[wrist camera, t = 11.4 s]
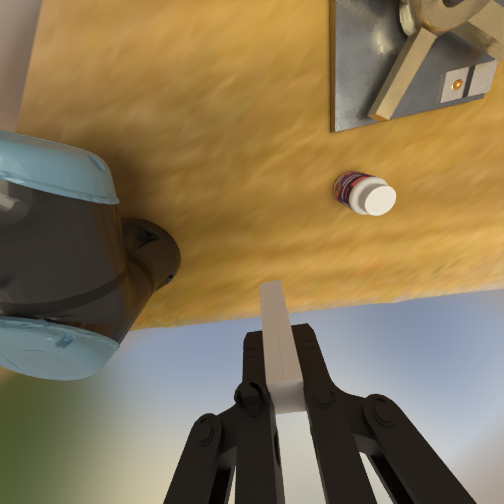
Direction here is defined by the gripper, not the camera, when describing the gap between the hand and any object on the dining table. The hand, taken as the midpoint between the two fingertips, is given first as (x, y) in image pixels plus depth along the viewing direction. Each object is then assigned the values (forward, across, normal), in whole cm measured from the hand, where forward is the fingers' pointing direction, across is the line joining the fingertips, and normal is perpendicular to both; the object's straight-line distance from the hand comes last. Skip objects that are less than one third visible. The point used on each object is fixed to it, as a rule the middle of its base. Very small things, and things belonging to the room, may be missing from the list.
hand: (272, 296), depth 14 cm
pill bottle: (+25, +16, 0) cm, 29 cm away
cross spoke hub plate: (+24, +23, +19) cm, 39 cm away
